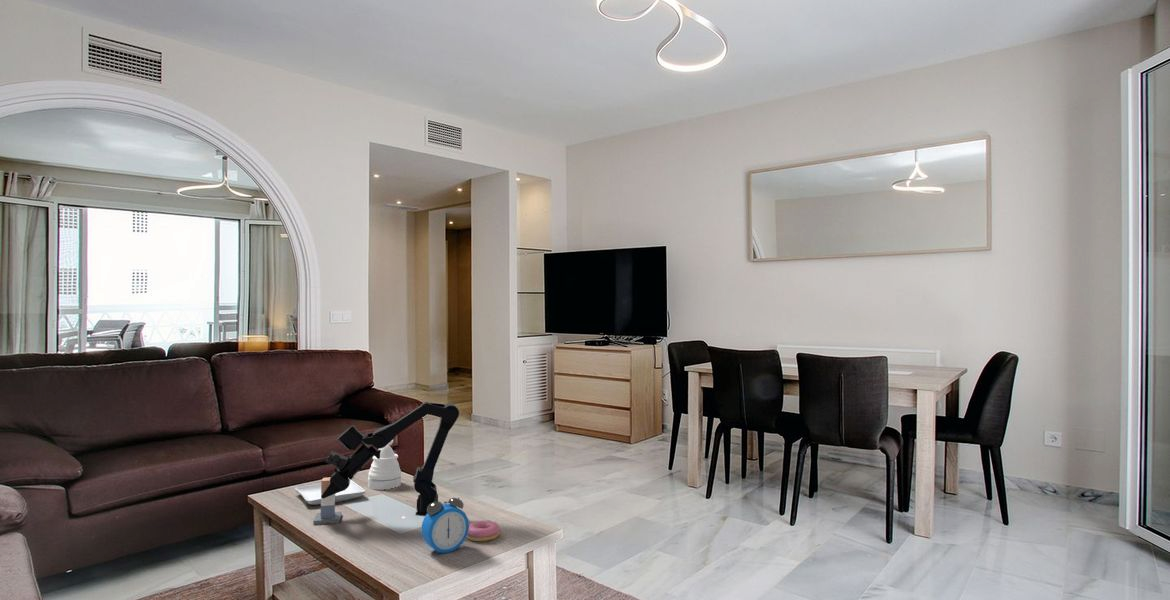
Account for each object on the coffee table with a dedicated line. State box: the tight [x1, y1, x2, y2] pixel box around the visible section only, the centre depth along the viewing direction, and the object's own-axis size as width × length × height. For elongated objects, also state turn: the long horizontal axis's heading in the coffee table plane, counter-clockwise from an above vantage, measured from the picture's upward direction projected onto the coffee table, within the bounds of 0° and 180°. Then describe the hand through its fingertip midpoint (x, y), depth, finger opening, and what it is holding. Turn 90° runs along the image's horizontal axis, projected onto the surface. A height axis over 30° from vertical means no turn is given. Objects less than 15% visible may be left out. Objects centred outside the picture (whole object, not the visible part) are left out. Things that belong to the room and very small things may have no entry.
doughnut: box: [466, 520, 501, 542], centre depth 199 cm, size 11×11×4 cm
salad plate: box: [294, 478, 366, 506], centre depth 238 cm, size 21×21×3 cm
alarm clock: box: [420, 497, 470, 556], centre depth 187 cm, size 13×6×15 cm, turn 128°
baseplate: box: [312, 511, 343, 525], centre depth 212 cm, size 8×8×1 cm
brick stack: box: [320, 476, 336, 519], centre depth 212 cm, size 4×4×13 cm
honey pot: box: [367, 439, 402, 491], centre depth 254 cm, size 13×13×18 cm
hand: (323, 493), depth 212 cm, fingers open, 9 cm apart
